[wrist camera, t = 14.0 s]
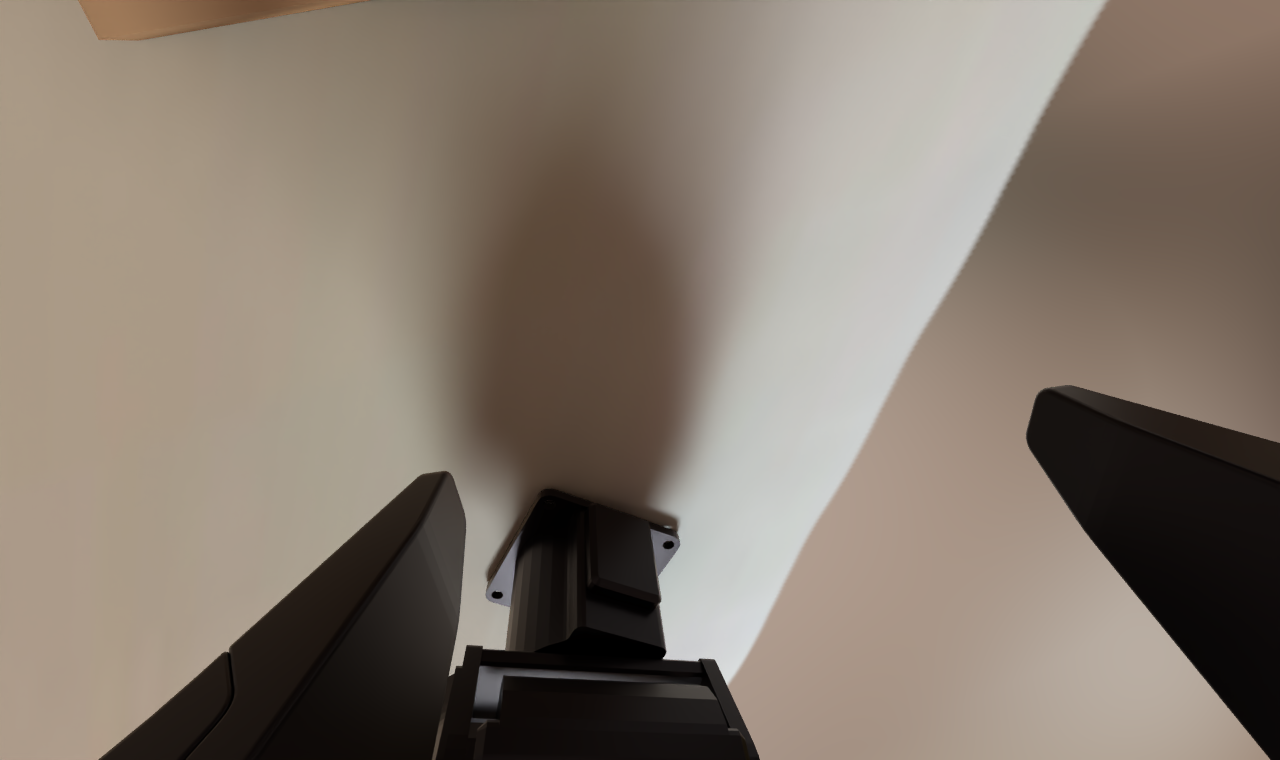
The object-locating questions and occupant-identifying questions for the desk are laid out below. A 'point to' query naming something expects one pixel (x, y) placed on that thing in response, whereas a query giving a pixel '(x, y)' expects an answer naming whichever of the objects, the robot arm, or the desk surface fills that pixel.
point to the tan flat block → (185, 15)
